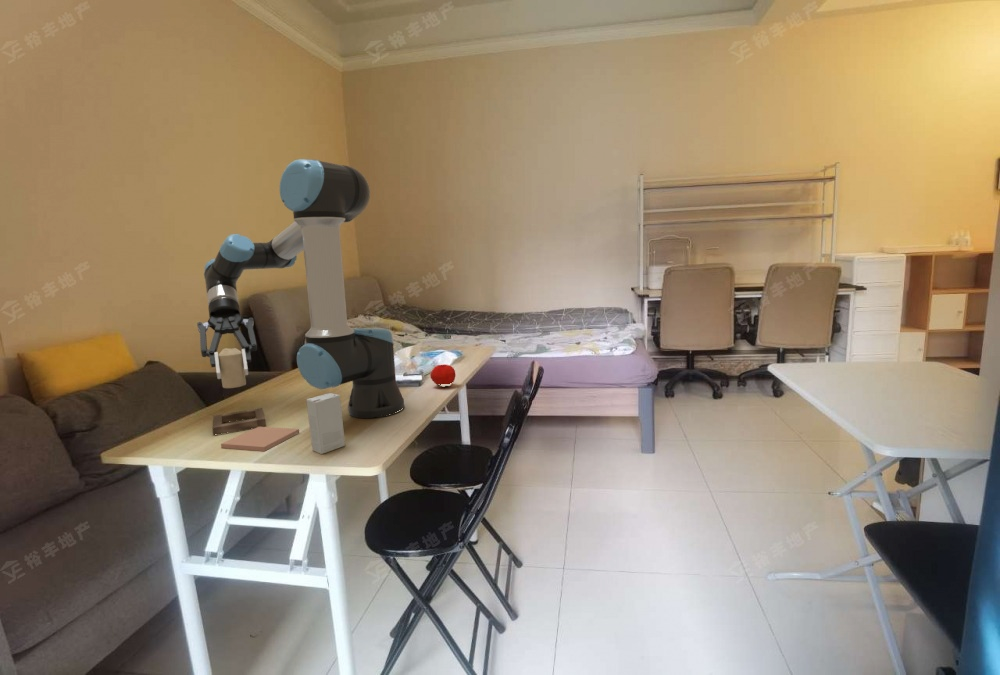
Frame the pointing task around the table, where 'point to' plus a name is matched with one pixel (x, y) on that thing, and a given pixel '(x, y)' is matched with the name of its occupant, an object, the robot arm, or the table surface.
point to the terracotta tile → (260, 438)
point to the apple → (443, 374)
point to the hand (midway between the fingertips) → (232, 373)
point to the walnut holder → (240, 425)
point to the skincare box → (325, 422)
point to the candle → (232, 368)
